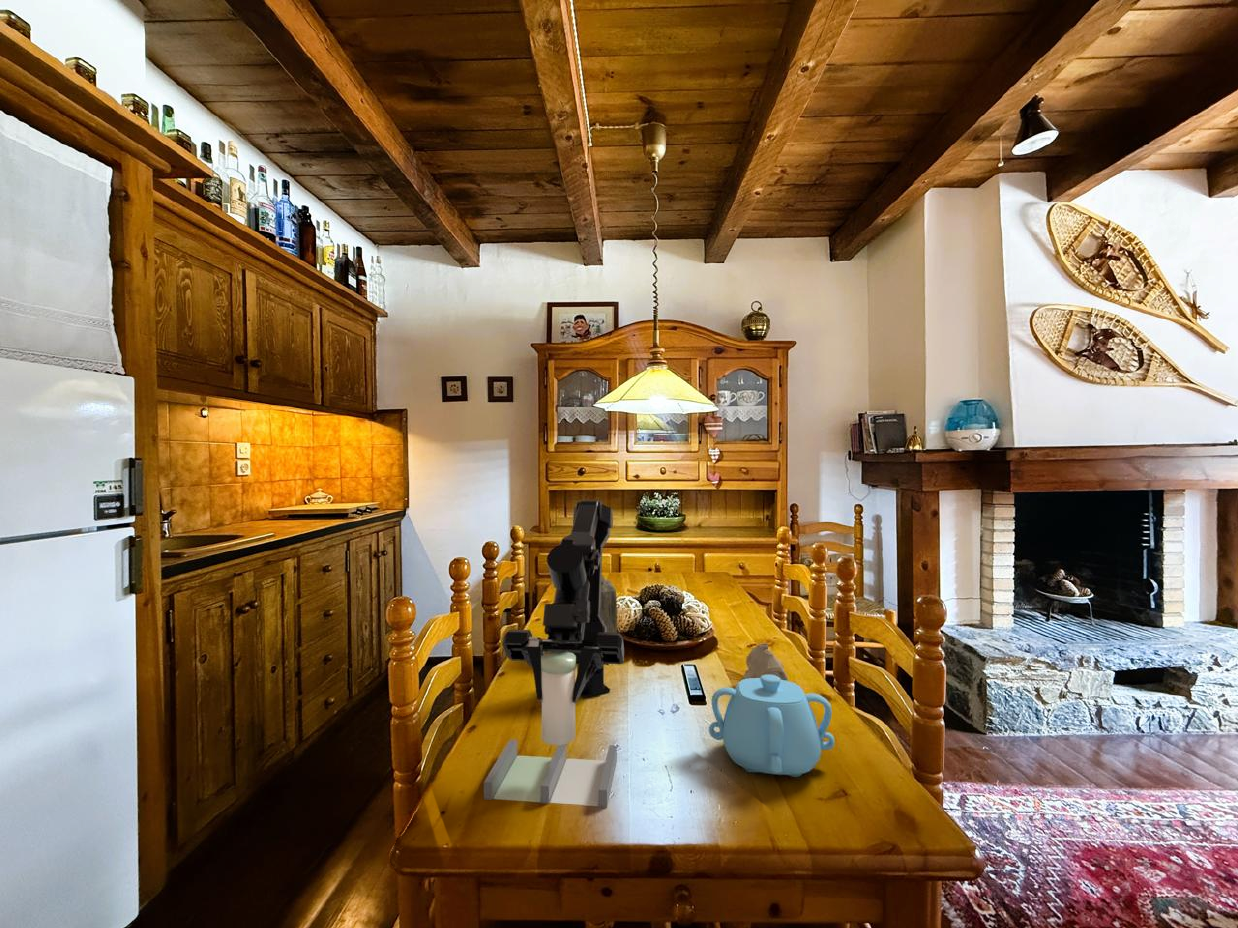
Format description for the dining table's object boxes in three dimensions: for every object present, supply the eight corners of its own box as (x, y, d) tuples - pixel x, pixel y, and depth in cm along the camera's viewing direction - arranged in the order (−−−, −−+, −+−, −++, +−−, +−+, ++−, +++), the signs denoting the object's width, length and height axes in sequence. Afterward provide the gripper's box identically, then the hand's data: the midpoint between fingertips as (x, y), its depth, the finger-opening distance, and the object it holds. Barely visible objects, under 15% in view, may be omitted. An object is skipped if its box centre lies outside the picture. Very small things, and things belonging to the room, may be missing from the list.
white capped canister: (536, 733, 84) (535, 654, 84) (567, 725, 87) (567, 649, 87) (549, 748, 80) (549, 666, 80) (581, 739, 82) (581, 659, 82)
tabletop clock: (617, 660, 136) (617, 558, 136) (580, 663, 134) (580, 560, 134) (604, 641, 150) (604, 549, 150) (571, 644, 148) (571, 550, 148)
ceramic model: (801, 704, 112) (801, 655, 112) (746, 704, 112) (746, 655, 112) (780, 677, 126) (780, 633, 126) (731, 677, 126) (731, 633, 126)
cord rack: (509, 760, 90) (509, 739, 90) (616, 767, 88) (616, 745, 88) (483, 806, 78) (483, 781, 78) (606, 815, 76) (606, 790, 76)
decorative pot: (823, 735, 99) (823, 660, 99) (848, 802, 79) (848, 708, 79) (709, 726, 102) (710, 652, 102) (707, 787, 83) (707, 697, 83)
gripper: (505, 579, 88) (482, 675, 77) (622, 581, 86) (615, 680, 75) (519, 614, 96) (499, 706, 85) (626, 617, 94) (620, 711, 83)
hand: (556, 701), depth 82 cm, fingers closed on white capped canister, 5 cm apart
